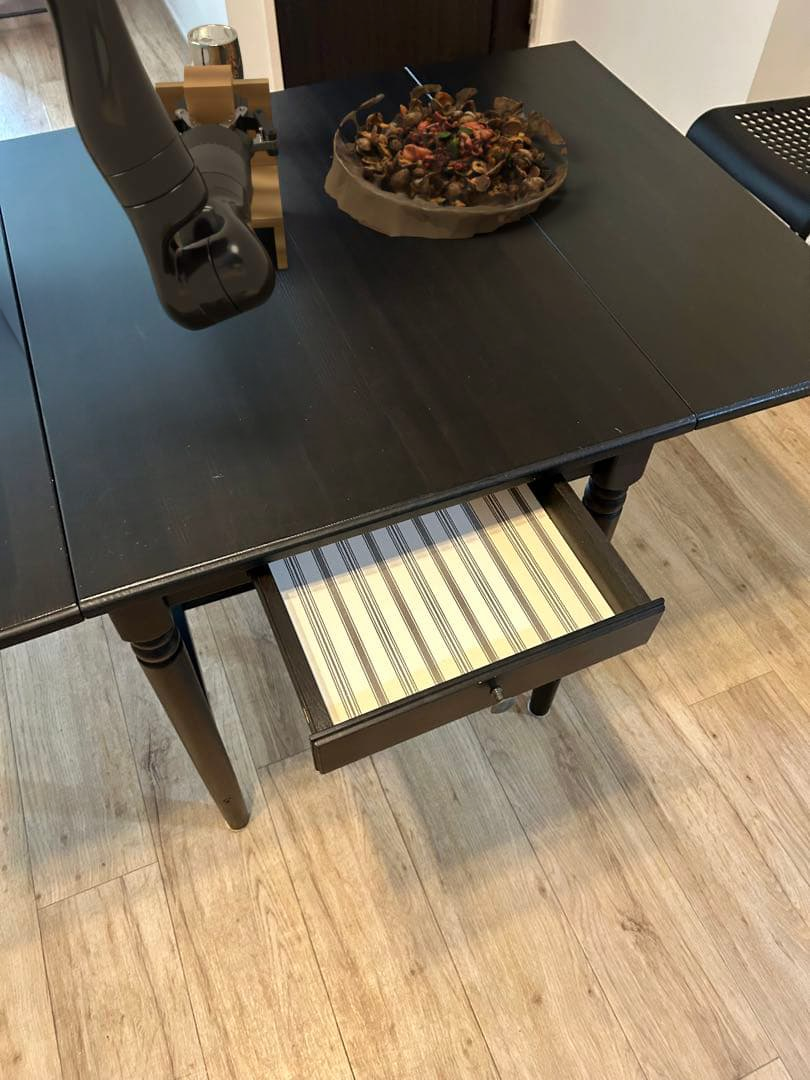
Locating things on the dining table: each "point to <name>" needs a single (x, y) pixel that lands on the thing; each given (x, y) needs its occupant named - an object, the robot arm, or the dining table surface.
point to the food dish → (443, 167)
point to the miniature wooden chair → (262, 165)
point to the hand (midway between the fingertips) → (212, 102)
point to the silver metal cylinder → (215, 48)
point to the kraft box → (209, 92)
